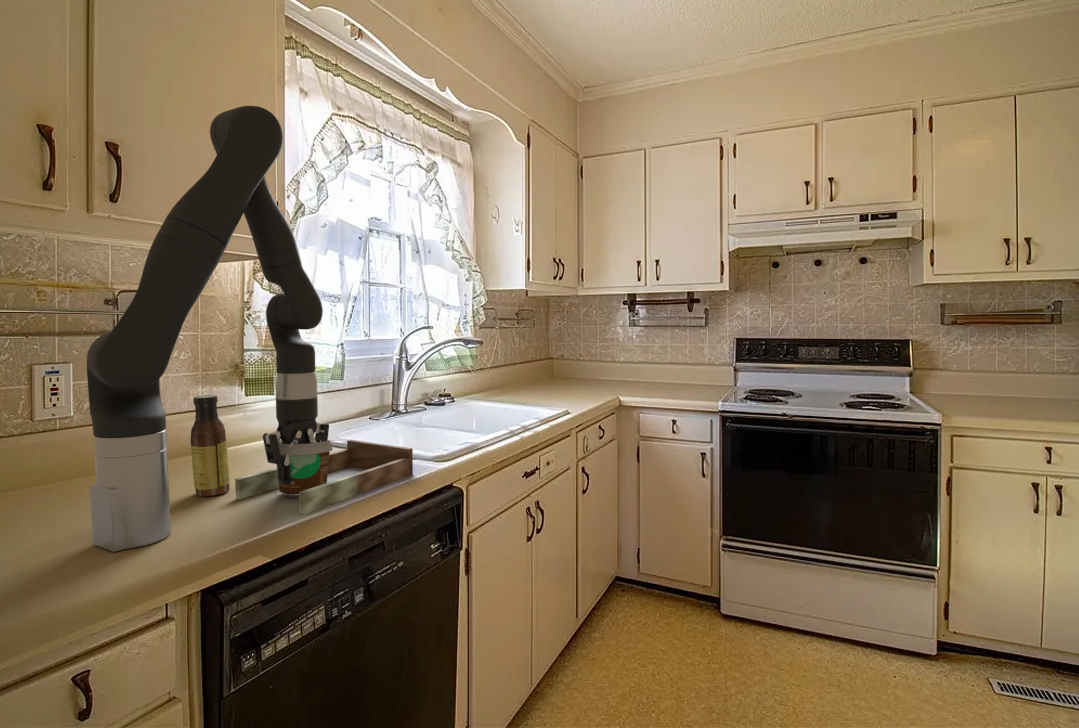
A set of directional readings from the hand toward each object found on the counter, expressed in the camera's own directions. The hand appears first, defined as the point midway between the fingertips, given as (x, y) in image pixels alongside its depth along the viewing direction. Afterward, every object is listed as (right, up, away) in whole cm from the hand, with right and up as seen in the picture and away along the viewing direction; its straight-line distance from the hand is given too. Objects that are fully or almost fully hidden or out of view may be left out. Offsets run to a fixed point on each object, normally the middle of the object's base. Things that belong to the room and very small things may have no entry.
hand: (298, 479), depth 109 cm
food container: (0, -3, -1) cm, 3 cm away
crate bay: (+4, -3, +8) cm, 9 cm away
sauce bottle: (-18, -3, +2) cm, 19 cm away
